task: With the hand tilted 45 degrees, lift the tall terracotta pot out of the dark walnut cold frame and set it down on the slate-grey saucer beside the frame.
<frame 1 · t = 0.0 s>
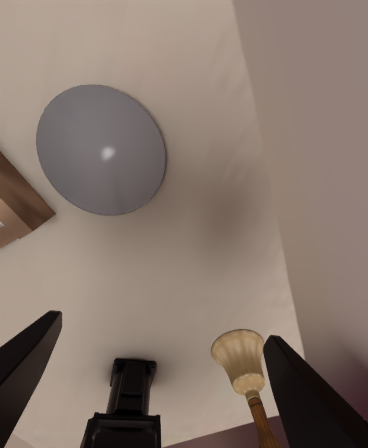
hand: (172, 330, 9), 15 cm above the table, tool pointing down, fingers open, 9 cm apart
saucer: (106, 156, 20), on the table
hand bell: (236, 346, 33), on the table
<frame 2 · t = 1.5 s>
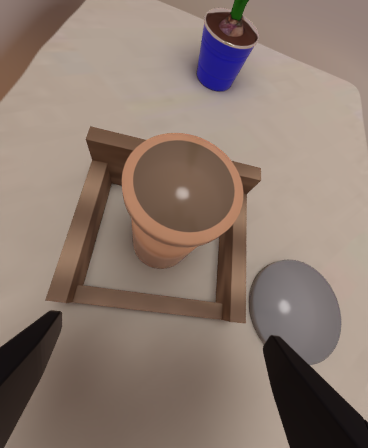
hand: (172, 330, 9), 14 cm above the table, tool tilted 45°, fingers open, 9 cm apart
hyacinth: (209, 77, 36), on the table
saucer: (291, 307, 25), on the table
pot: (161, 240, 24), resting in cold frame
cold frame: (161, 240, 24), on the table
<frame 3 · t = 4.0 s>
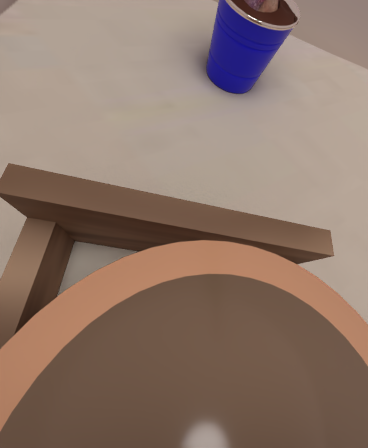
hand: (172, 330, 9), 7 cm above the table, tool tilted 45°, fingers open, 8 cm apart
hyacinth: (223, 74, 26), on the table
pot: (153, 340, 14), resting in cold frame, touching gripper
cold frame: (153, 340, 14), on the table
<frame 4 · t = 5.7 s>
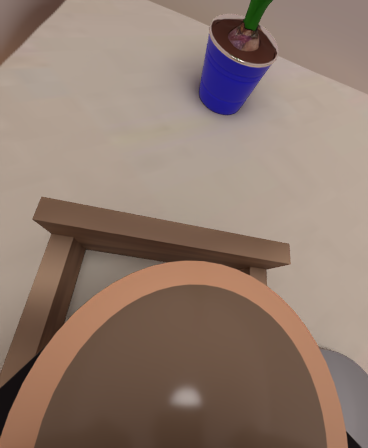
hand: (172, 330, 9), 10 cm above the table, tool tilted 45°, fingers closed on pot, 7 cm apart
hyacinth: (214, 97, 29), on the table
saucer: (325, 418, 19), on the table
pot: (151, 335, 16), point 2 cm above the table, touching gripper
cold frame: (150, 330, 18), on the table
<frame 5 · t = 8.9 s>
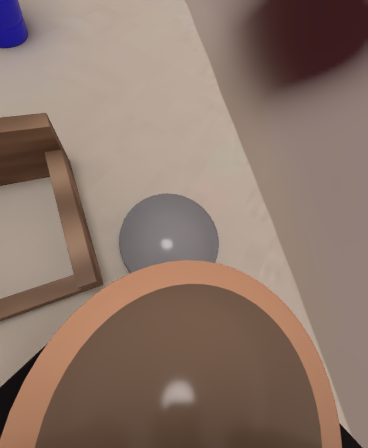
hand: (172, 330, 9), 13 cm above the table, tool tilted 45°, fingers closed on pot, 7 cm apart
saucer: (169, 241, 24), on the table
pot: (148, 333, 16), point 5 cm above the table, touching gripper
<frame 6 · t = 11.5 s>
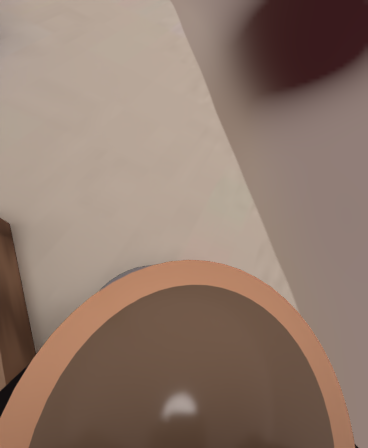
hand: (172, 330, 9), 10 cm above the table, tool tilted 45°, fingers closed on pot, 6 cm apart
pot: (148, 339, 16), point 1 cm above the table, touching gripper, saucer
when the fingers open (10 cm above the table, at t = 11.9 s): pot stays where it is, resting on saucer.
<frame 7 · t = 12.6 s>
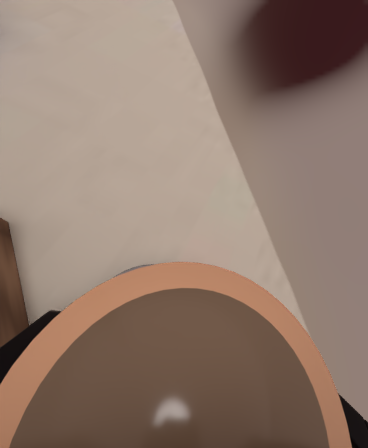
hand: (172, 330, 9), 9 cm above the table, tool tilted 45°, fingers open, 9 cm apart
pot: (148, 338, 16), point 1 cm above the table, touching saucer
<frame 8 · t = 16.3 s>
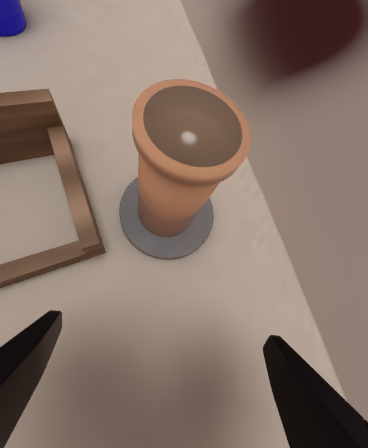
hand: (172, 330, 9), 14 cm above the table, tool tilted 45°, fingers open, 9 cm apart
saucer: (167, 214, 25), on the table
pot: (165, 210, 24), point 1 cm above the table, touching saucer
cold frame: (0, 213, 21), on the table
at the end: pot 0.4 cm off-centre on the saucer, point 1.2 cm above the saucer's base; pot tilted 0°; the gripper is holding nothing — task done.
